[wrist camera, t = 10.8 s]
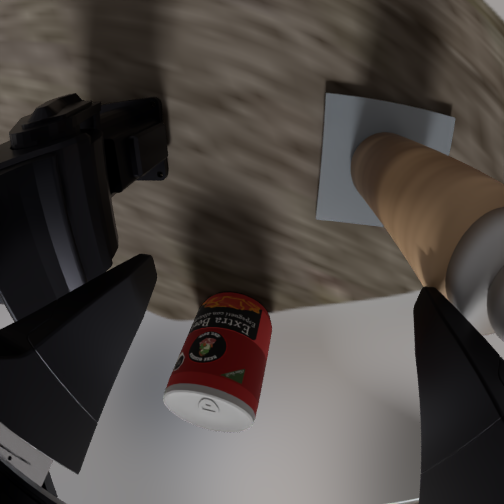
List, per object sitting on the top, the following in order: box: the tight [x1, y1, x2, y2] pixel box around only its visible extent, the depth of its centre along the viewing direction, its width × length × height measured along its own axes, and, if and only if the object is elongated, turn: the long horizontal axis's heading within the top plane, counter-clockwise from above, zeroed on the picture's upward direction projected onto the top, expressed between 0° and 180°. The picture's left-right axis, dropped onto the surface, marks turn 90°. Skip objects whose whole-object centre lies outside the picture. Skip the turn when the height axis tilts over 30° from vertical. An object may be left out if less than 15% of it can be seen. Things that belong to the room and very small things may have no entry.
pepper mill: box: [351, 132, 504, 341], centre depth 11 cm, size 5×5×15 cm
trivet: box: [316, 92, 455, 227], centre depth 18 cm, size 9×9×1 cm
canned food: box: [163, 292, 272, 433], centre depth 26 cm, size 8×8×11 cm
